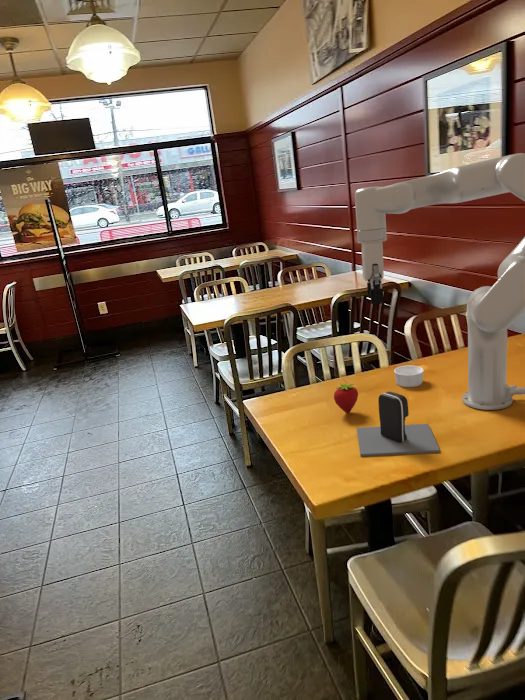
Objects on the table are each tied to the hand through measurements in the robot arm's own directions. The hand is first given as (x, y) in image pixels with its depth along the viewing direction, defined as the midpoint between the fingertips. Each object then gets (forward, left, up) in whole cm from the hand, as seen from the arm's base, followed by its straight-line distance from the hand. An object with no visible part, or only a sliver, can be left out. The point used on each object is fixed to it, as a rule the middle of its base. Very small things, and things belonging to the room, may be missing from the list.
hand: (375, 299), depth 141 cm
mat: (-1, +24, -30) cm, 39 cm away
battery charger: (-1, +23, -30) cm, 38 cm away
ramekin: (-10, -14, -31) cm, 35 cm away
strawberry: (+10, +6, -31) cm, 33 cm away
